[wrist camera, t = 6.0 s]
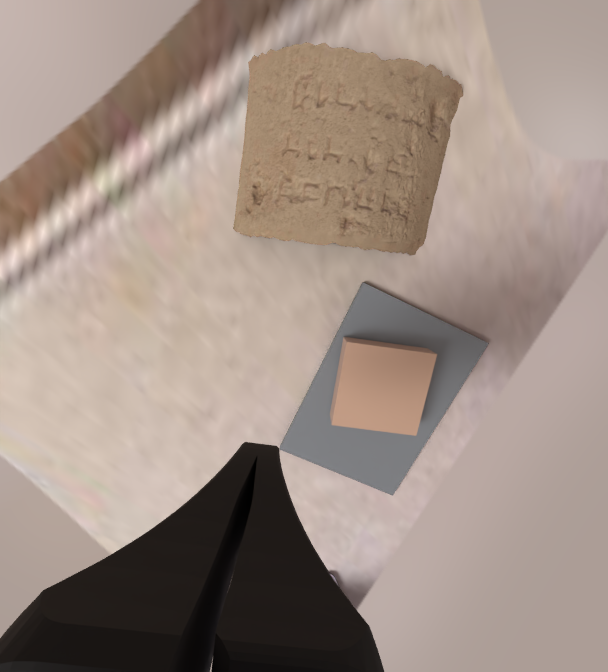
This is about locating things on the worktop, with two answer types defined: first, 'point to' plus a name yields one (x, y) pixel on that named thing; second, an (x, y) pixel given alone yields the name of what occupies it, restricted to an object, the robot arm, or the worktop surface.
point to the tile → (381, 386)
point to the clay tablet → (343, 147)
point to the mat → (368, 445)
